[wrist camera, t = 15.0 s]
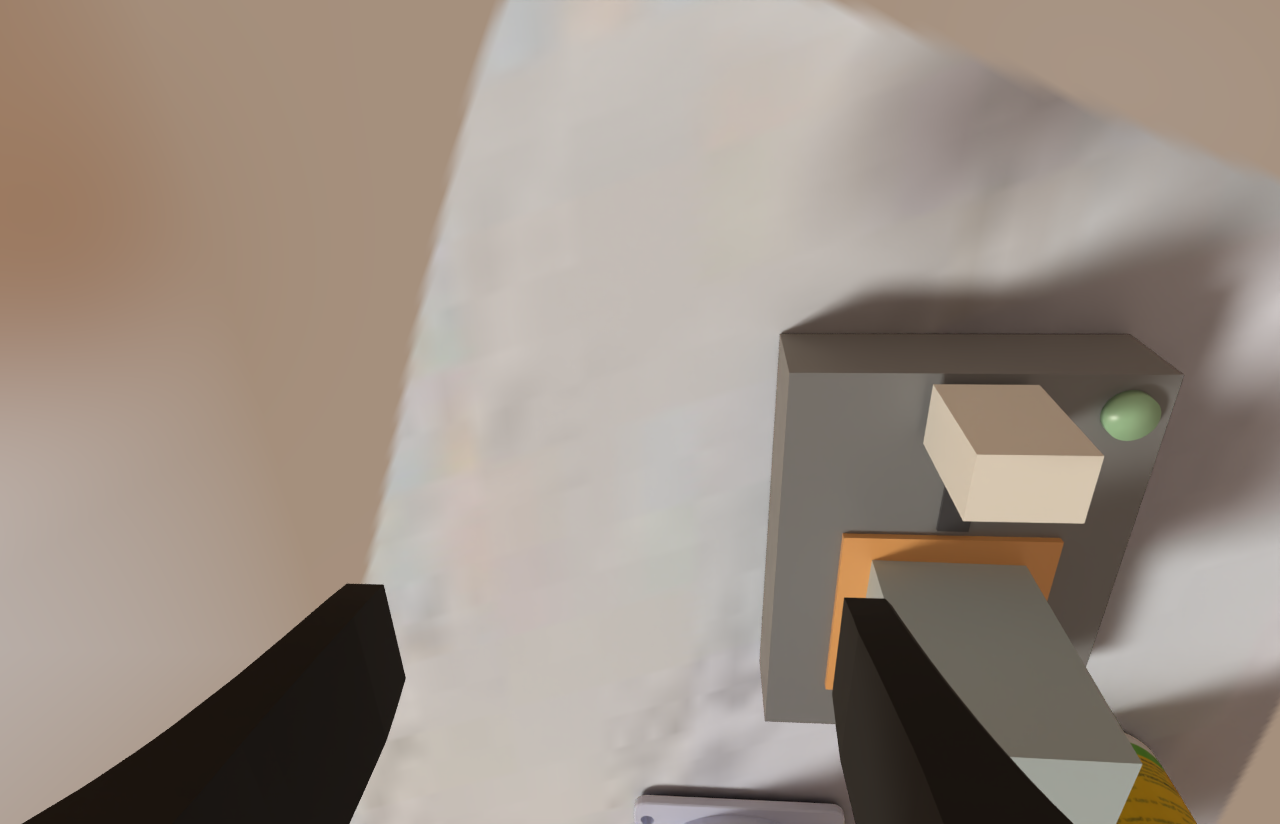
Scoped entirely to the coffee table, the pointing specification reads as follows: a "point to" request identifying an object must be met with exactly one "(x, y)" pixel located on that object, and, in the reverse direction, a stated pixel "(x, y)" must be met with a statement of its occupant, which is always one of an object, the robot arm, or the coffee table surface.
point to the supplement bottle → (1153, 794)
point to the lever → (1010, 454)
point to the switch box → (934, 483)
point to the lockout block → (1017, 677)
